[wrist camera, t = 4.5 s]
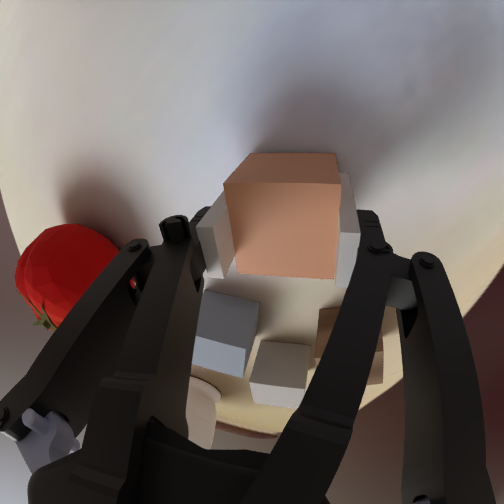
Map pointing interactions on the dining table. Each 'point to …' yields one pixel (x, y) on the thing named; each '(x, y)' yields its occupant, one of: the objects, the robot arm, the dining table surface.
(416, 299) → the robot arm
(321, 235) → the terracotta cube
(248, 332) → the slate cube
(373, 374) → the walnut cube
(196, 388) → the jar
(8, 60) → the dining table surface
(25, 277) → the tomato
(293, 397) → the grey cube
